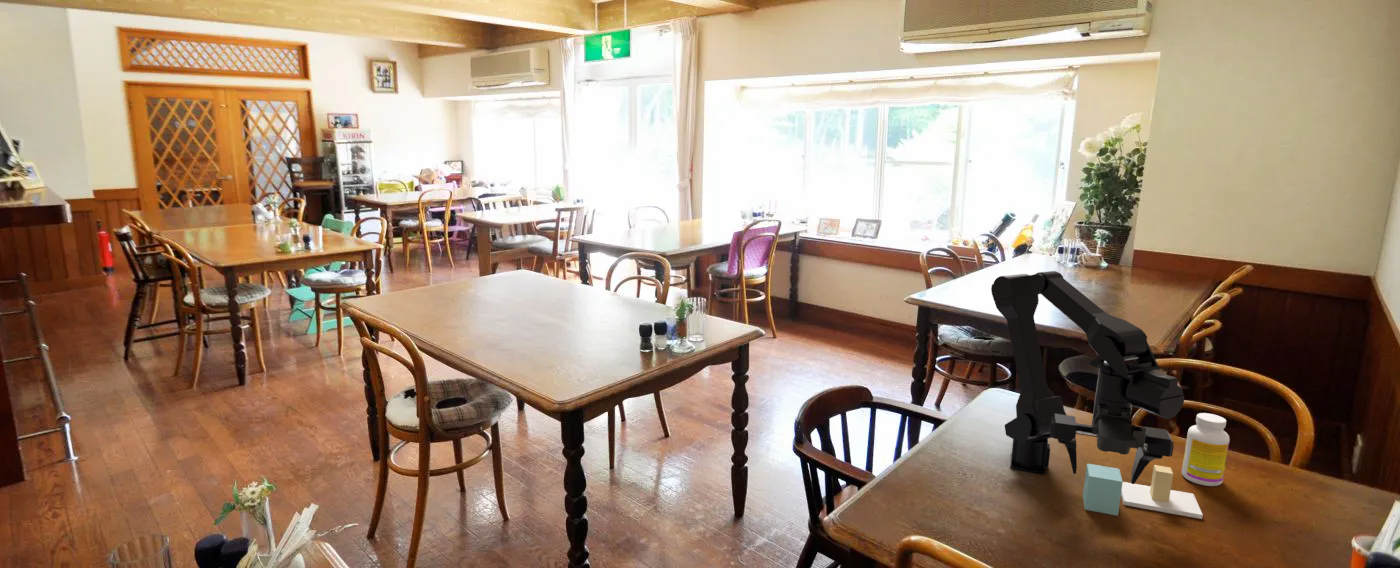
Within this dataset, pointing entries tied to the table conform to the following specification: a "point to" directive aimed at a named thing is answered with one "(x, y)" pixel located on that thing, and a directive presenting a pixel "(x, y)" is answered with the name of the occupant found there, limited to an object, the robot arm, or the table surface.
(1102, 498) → the teal rectangular block
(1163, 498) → the post stand
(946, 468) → the table surface
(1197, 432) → the supplement bottle
